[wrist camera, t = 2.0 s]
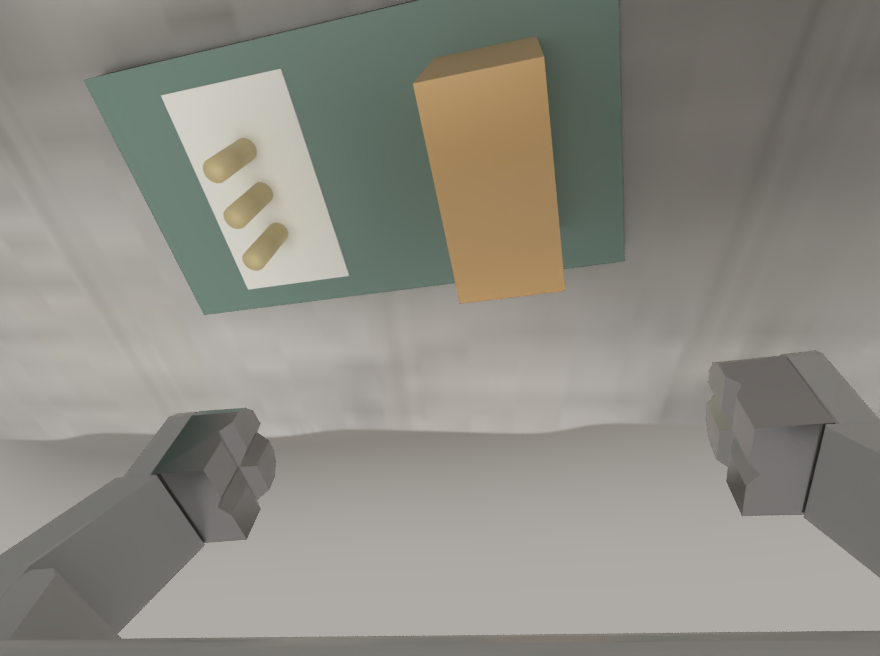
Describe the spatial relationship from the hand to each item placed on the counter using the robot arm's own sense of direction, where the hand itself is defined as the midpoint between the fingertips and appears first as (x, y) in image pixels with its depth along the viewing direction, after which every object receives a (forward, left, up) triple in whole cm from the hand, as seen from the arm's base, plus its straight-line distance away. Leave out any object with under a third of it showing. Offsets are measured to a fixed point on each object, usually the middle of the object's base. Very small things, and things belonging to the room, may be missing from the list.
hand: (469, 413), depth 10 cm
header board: (+6, 0, -18) cm, 19 cm away
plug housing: (0, 0, -16) cm, 16 cm away
